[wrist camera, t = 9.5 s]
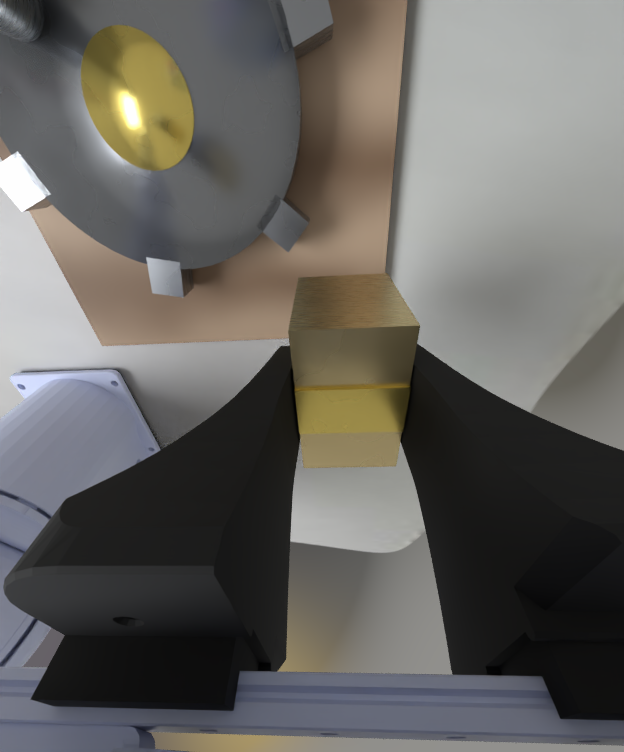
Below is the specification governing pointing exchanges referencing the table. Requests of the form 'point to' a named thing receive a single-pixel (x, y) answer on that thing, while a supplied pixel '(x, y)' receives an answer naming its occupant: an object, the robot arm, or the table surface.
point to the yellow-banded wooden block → (351, 368)
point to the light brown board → (307, 191)
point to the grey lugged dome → (158, 122)
